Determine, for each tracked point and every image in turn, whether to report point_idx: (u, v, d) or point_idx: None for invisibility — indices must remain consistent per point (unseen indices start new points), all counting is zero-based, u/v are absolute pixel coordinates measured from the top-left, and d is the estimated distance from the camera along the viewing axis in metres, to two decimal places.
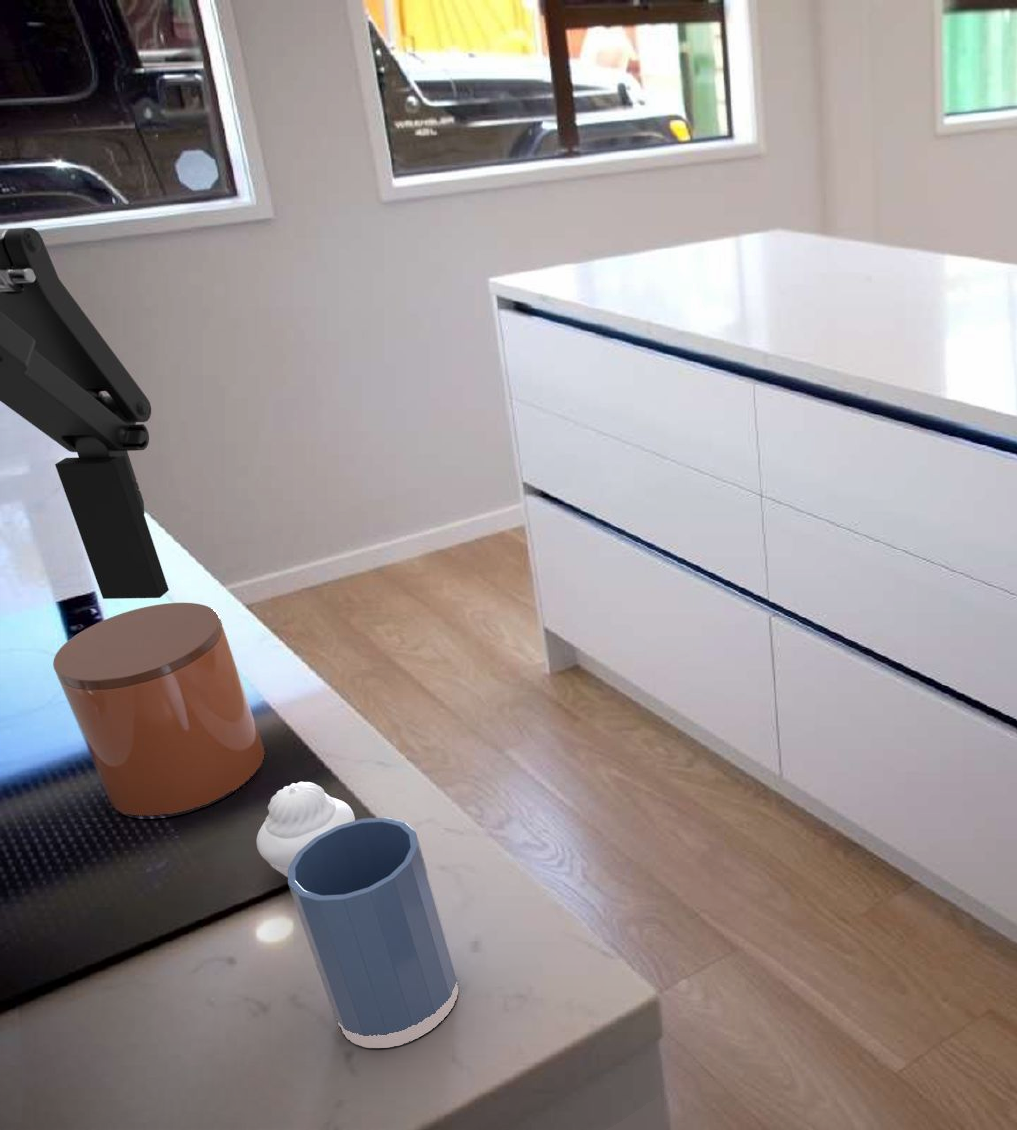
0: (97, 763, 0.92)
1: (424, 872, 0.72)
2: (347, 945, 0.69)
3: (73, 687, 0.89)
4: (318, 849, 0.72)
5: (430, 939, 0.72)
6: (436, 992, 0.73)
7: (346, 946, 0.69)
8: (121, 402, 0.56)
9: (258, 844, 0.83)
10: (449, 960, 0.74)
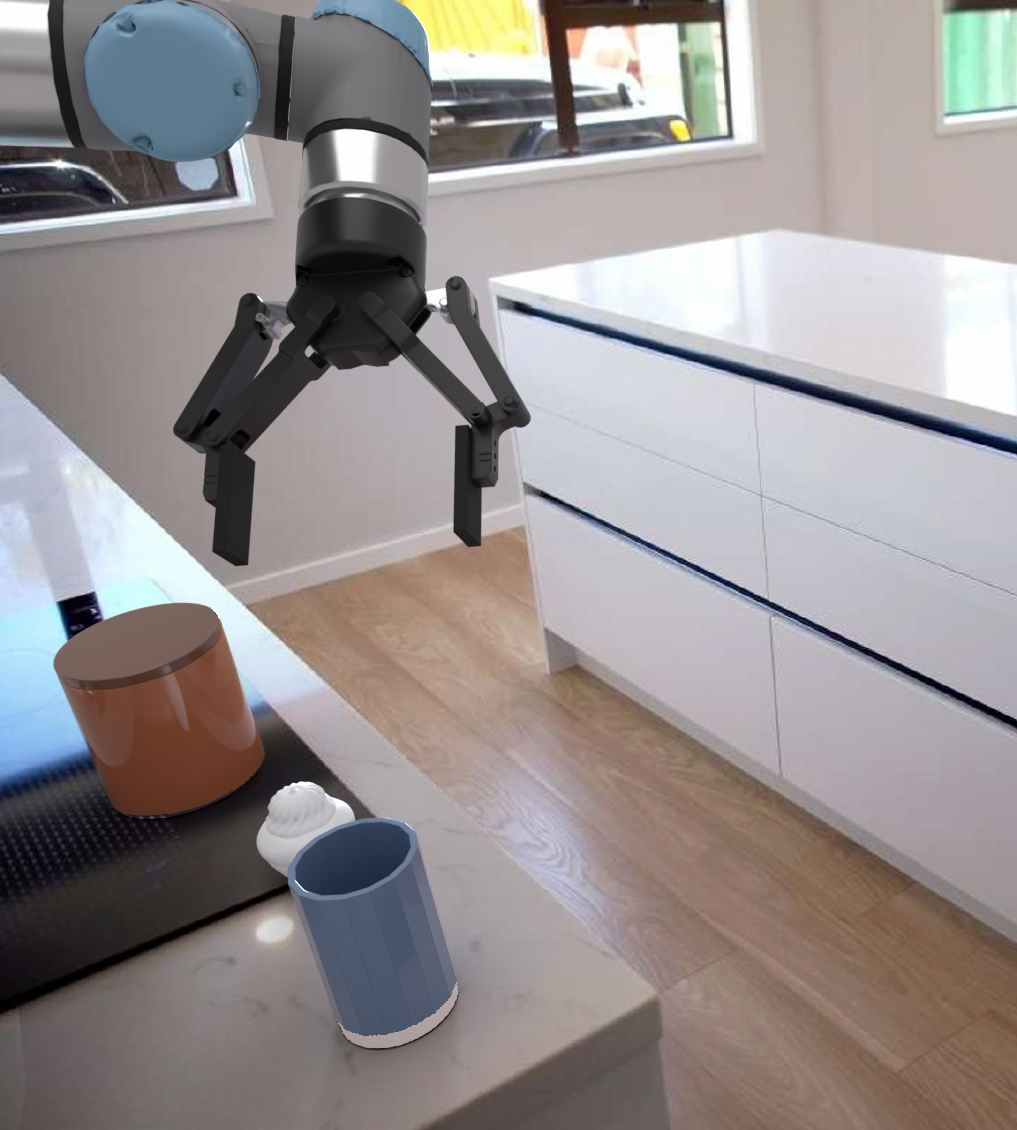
0: (97, 763, 0.92)
1: (424, 872, 0.72)
2: (347, 945, 0.69)
3: (73, 687, 0.89)
4: (318, 849, 0.72)
5: (430, 939, 0.72)
6: (436, 992, 0.73)
7: (346, 946, 0.69)
8: None
9: (258, 844, 0.83)
10: (449, 960, 0.74)
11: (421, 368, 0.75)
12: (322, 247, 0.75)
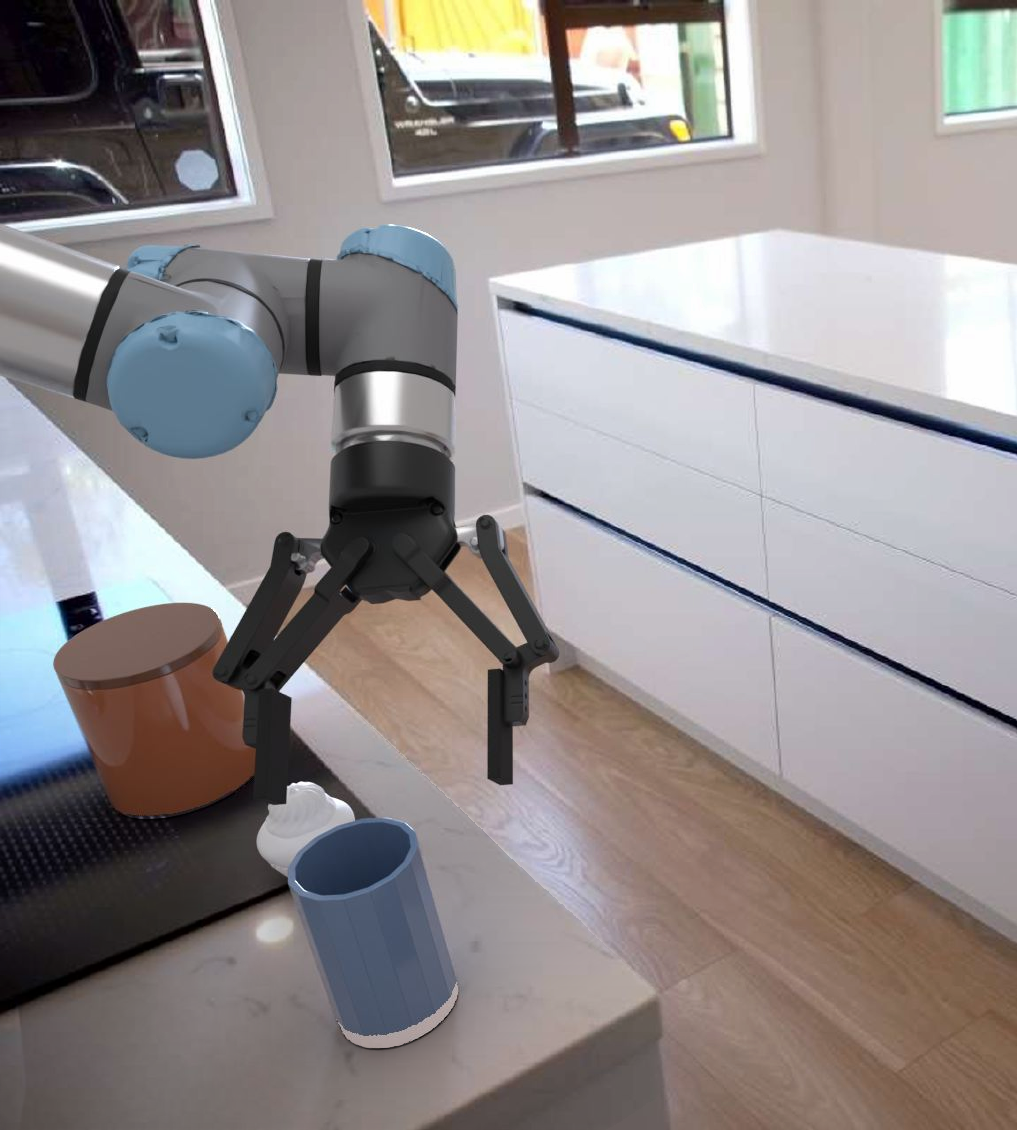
0: (97, 763, 0.92)
1: (424, 872, 0.72)
2: (347, 945, 0.69)
3: (73, 687, 0.89)
4: (318, 849, 0.72)
5: (430, 939, 0.72)
6: (436, 992, 0.73)
7: (346, 946, 0.69)
8: None
9: (258, 844, 0.83)
10: (449, 960, 0.74)
11: (453, 610, 0.78)
12: (356, 492, 0.78)
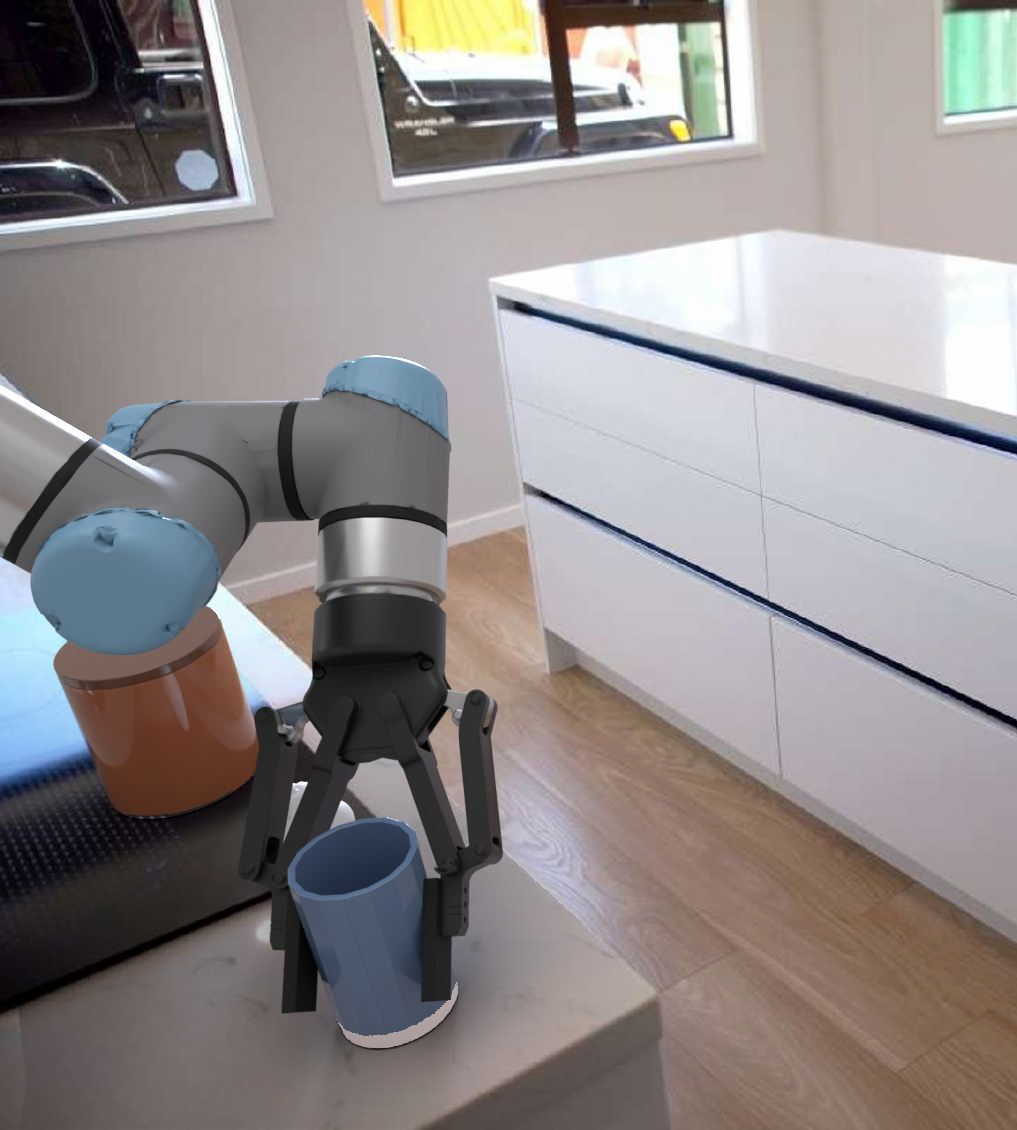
0: (97, 763, 0.92)
1: (424, 872, 0.72)
2: (347, 945, 0.69)
3: (73, 687, 0.89)
4: (318, 849, 0.72)
5: None
6: None
7: (346, 946, 0.69)
8: None
9: None
10: None
11: (412, 791, 0.73)
12: (340, 650, 0.73)
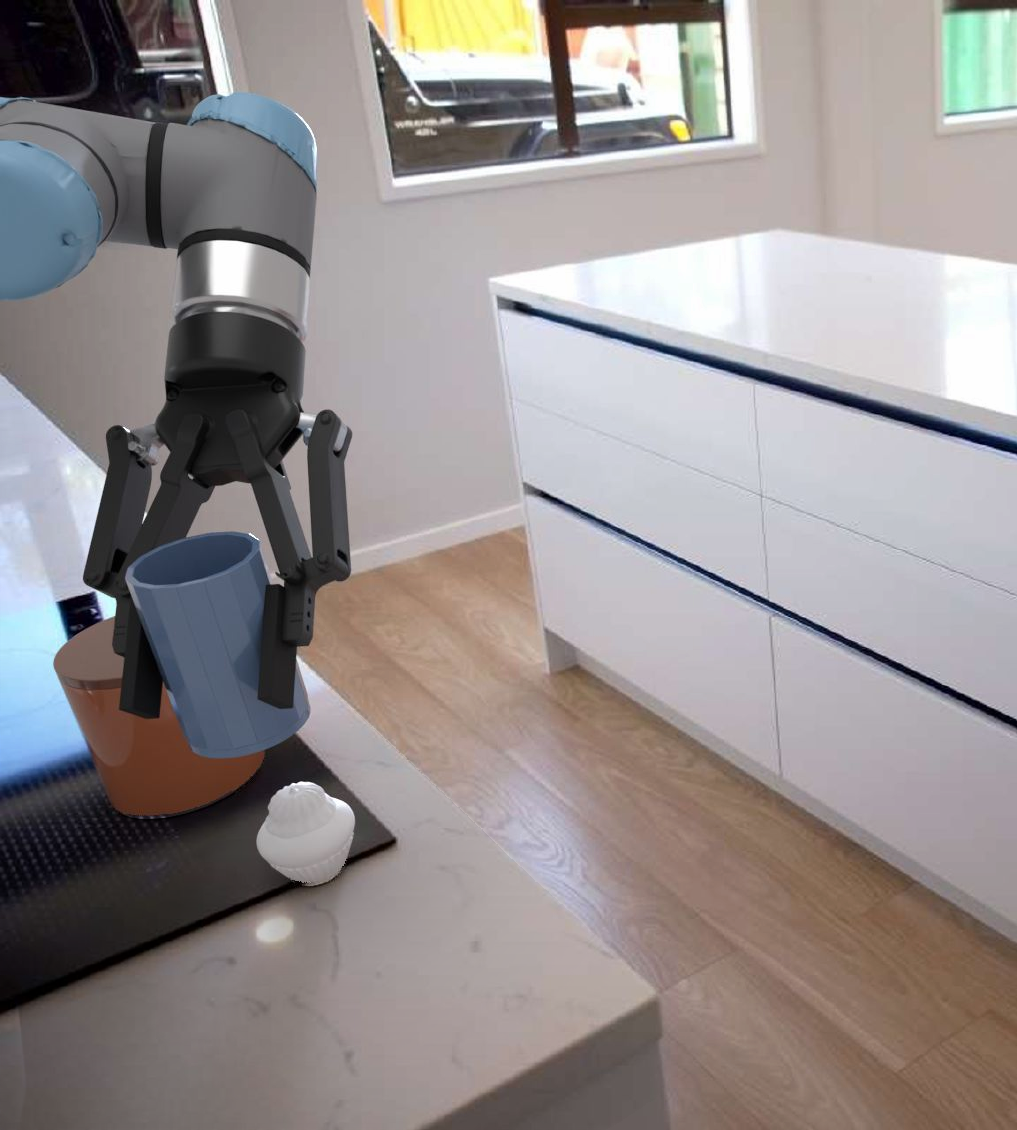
0: (97, 763, 0.92)
1: (267, 579, 0.72)
2: (183, 640, 0.69)
3: (73, 687, 0.89)
4: (163, 557, 0.72)
5: None
6: None
7: (182, 641, 0.69)
8: None
9: (258, 844, 0.83)
10: (297, 678, 0.75)
11: (259, 504, 0.73)
12: (189, 364, 0.73)
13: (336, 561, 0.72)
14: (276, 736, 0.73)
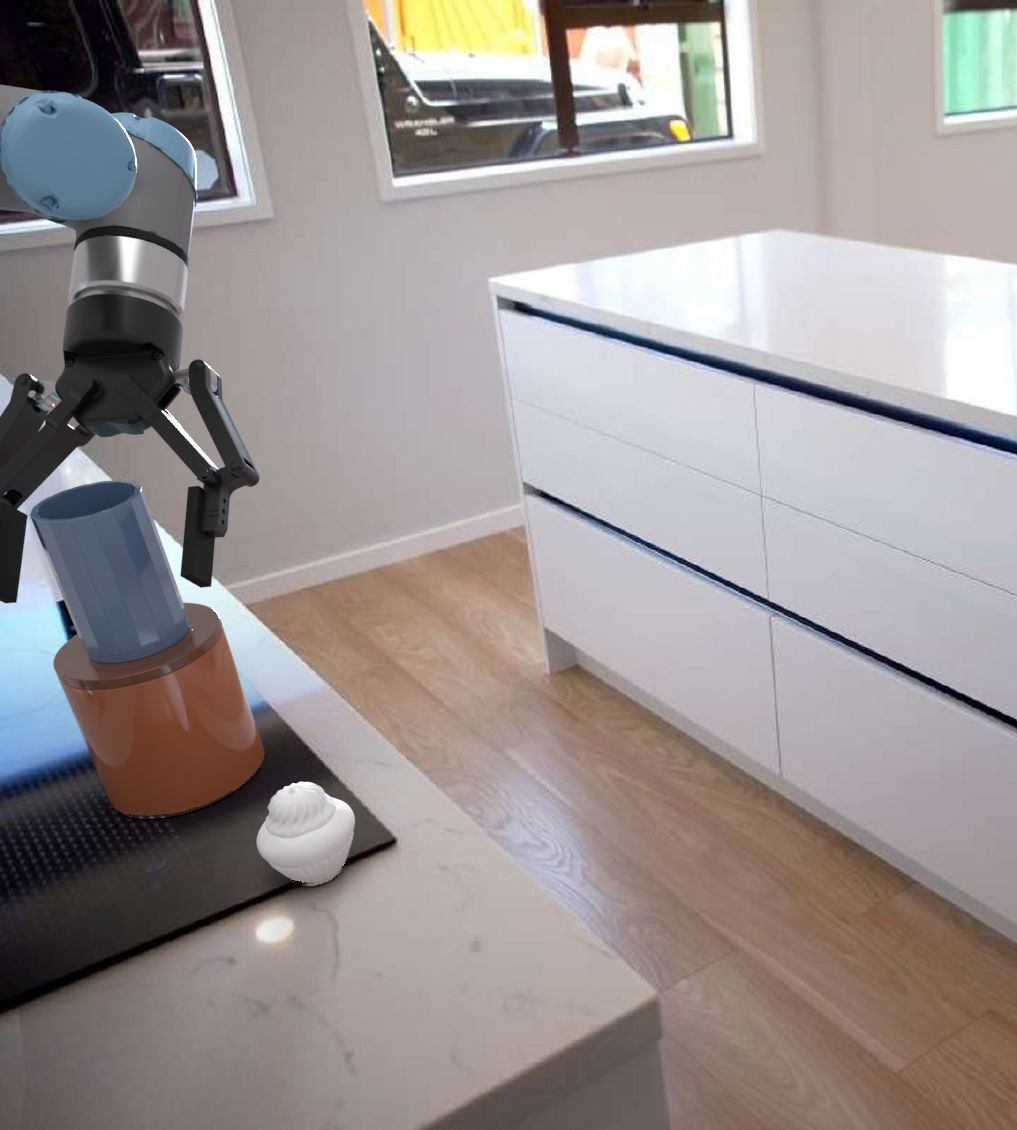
0: (97, 763, 0.92)
1: (147, 517, 0.89)
2: (77, 564, 0.86)
3: (73, 687, 0.89)
4: (63, 500, 0.89)
5: (153, 572, 0.89)
6: (161, 619, 0.90)
7: (76, 565, 0.86)
8: None
9: (258, 844, 0.83)
10: (176, 599, 0.92)
11: (163, 438, 0.90)
12: (80, 336, 0.90)
13: (246, 465, 0.90)
14: (157, 646, 0.91)
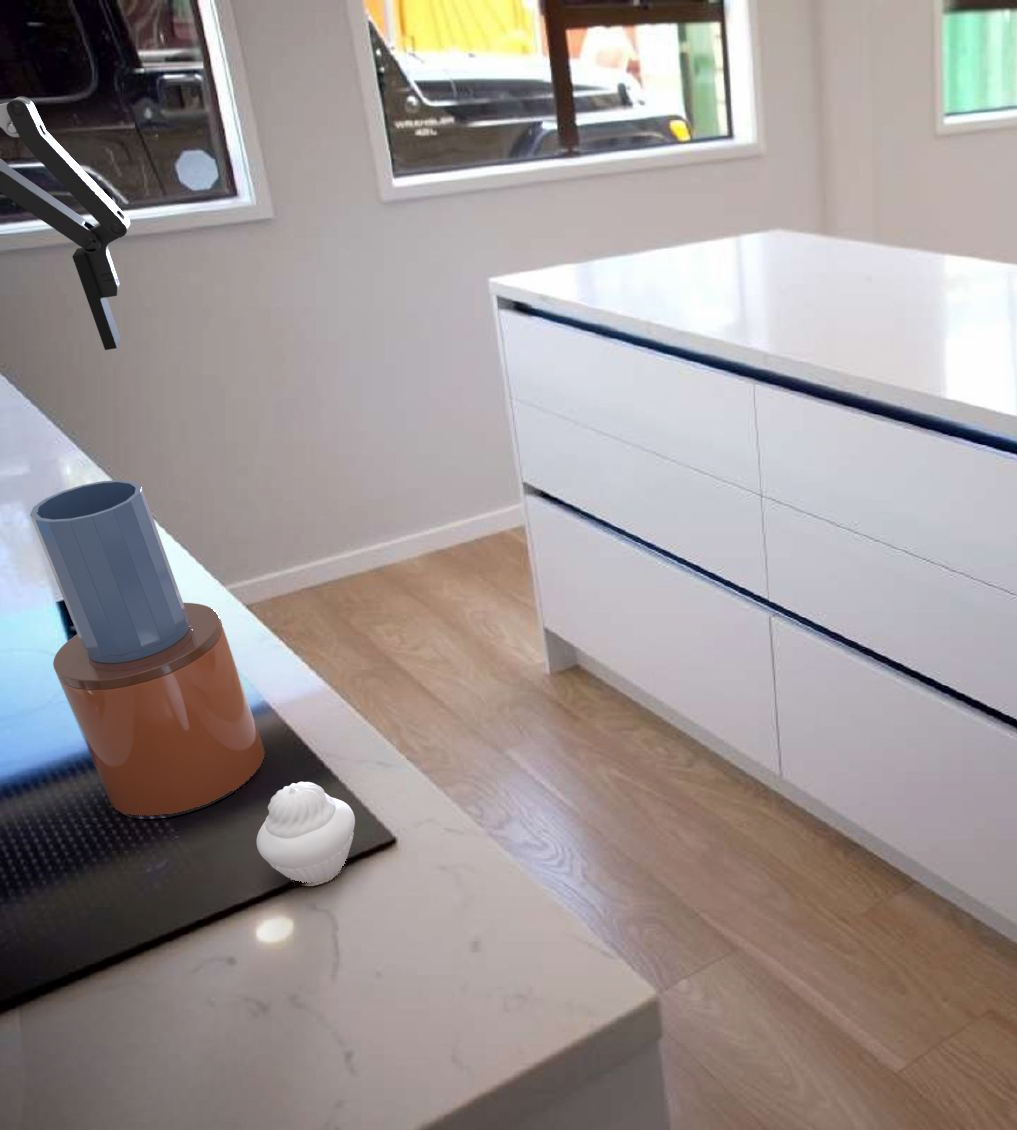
0: (97, 763, 0.92)
1: (147, 517, 0.89)
2: (77, 564, 0.86)
3: (73, 687, 0.89)
4: (63, 500, 0.89)
5: (153, 572, 0.89)
6: (161, 619, 0.90)
7: (76, 565, 0.86)
8: None
9: (258, 844, 0.83)
10: (176, 599, 0.92)
11: (15, 200, 0.83)
12: None
13: (126, 224, 0.87)
14: (157, 646, 0.91)
